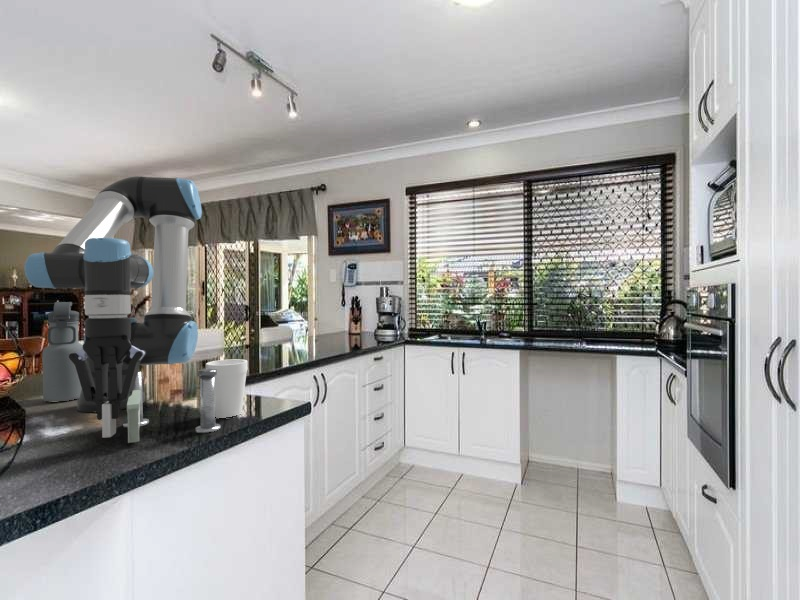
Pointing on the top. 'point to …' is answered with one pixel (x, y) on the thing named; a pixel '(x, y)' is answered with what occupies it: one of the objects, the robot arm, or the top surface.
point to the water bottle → (61, 355)
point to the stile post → (207, 401)
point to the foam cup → (229, 386)
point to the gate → (133, 416)
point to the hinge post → (139, 387)
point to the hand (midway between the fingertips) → (109, 435)
